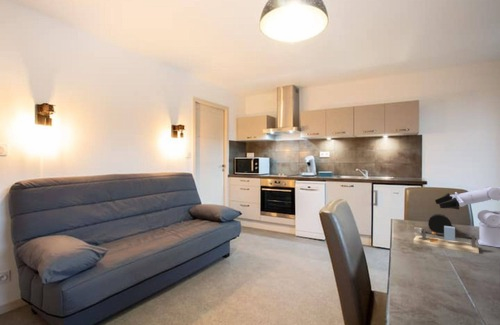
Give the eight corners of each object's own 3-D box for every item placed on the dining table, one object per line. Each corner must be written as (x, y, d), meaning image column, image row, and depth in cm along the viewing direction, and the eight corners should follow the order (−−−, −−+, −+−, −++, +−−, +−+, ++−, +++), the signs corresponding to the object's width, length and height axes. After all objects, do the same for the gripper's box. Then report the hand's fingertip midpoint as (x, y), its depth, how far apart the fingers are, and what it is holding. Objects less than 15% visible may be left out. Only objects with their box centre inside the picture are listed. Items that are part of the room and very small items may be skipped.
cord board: (477, 247, 119) (476, 233, 119) (478, 253, 111) (478, 238, 111) (415, 238, 134) (415, 225, 134) (413, 243, 126) (413, 229, 126)
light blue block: (454, 239, 121) (454, 226, 121) (455, 241, 118) (454, 228, 118) (444, 237, 124) (444, 225, 124) (444, 239, 121) (444, 227, 121)
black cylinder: (443, 230, 163) (452, 217, 161) (444, 238, 136) (456, 222, 134) (426, 221, 169) (434, 208, 167) (424, 227, 141) (434, 211, 139)
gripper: (462, 186, 133) (431, 193, 138) (473, 193, 119) (439, 200, 125) (466, 199, 133) (435, 205, 138) (478, 208, 119) (443, 214, 125)
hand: (437, 203), depth 132 cm, fingers open, 7 cm apart
